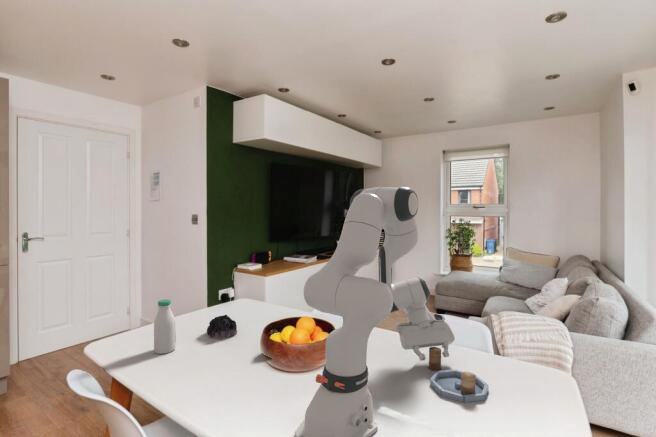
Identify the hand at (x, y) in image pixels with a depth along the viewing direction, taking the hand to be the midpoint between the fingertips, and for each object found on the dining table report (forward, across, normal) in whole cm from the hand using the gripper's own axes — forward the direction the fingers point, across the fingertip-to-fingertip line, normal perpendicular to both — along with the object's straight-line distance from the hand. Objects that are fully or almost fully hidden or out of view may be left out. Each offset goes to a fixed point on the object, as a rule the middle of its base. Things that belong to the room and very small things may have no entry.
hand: (435, 358), depth 120 cm
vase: (-18, -52, +25) cm, 61 cm away
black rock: (-36, -72, +44) cm, 92 cm away
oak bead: (+15, 0, -10) cm, 18 cm away
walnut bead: (+3, 0, +4) cm, 5 cm away
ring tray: (+13, 0, -6) cm, 14 cm away
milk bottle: (-28, -94, +35) cm, 104 cm away
